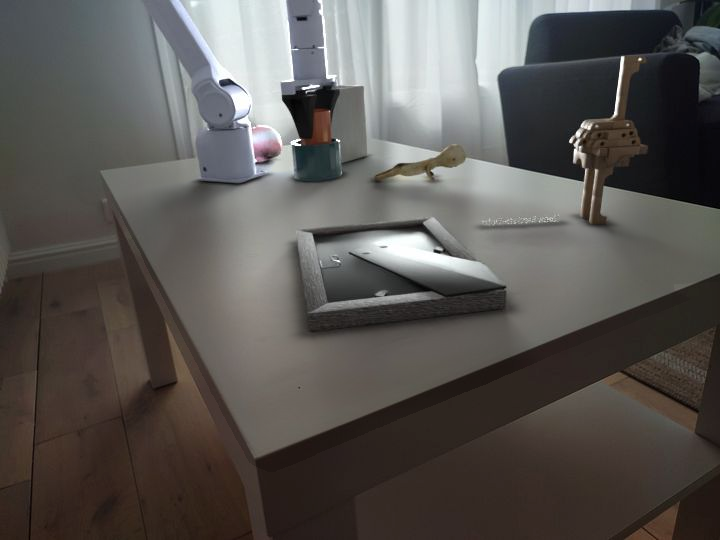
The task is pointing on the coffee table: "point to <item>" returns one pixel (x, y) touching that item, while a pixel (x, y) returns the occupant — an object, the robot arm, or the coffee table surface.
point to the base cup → (317, 161)
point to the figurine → (427, 164)
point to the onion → (265, 143)
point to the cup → (320, 128)
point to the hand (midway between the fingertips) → (315, 135)
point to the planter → (350, 122)
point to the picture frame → (390, 274)
